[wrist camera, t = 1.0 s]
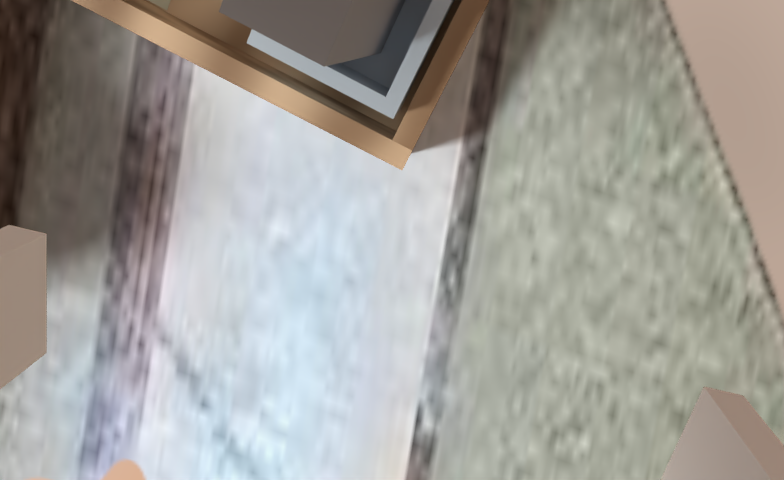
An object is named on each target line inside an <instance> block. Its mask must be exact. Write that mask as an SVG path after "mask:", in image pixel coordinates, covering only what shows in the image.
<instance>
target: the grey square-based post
mask: <svg viewBox="0 0 784 480" xmlns="http://www.w3.org/2000/svg"><path fill="white" fill-rule="evenodd" d="M453 2H454V0H223V1H222V4H221V7H220V10H219V12H220V13H222V14H224V15H226V16H228V17H230V18H232V19H234V20H235V21H237V22H239V23H241V24H243V25H245V26H247V27H249V28H251V29H252V30H251V33H250V35H249V38H248V41H247V44H249V45H251V46H253V47H255V48H257V49H259V50H261V51H263V52H265V53H266V54H268V55H270V56H272V57H274V58H276V59H278V60H280V61H282V62H284V63H286V64H288V65H290V66H292V67H293V68H295V69H297V70H299V71H301V72H303V73H305V74H307V75H309V76H311V77H313V78H315V79H317V80H318V81H320V82H322V83H324V84H326V85H328V86H330V87H332V88H334V89H336V90H338V91H340V92H342V93H344V94H345V95H347V96H349V97H351V98H353V99H355V100H357V101H359V102H361V103H363V104H365V105H367V106H369V107H370V108H372V109H374V110H376V111H378V112H380V113H382V114H384V115H386V116H388V117H390V118H392V119H394V117H395V116H396V115H397V113H398V112H399V110H400V109H401V107H402V105H403V103H404V101H405V99H406V97H407V95H408V93H409V91H410V89H411V87H412V85H413V83H414V81H415V79H416V77H417V75H418V73H419V71H420V69H421V67H422V65H423V63H424V61H425V59H426V57H427V55H428V52H429V50H430V48H431V46H432V44H433V42H434V40H435V38H436V36H437V34H438V32H439V30H440V28H441V26H442V24H443V22H444V20H445V18H446V16H447V14H448V12H449V10H450V8H451V6H452V4H453Z"/></svg>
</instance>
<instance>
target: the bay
mask: <svg viewBox="0 0 784 480" xmlns="http://www.w3.org/2000/svg"><path fill="white" fill-rule="evenodd" d="M71 1H73V2H75V3H77V4H79V5H81V6H83V7H85V8H87V9H89V10H91V11H93V12H95V13H97V14H99V15H101V16H103V17H105V18H107V19H108V20H110V21H112V22H114V23H116V24H118V25H120V26H122V27H124V28H126V29H128V30H130V31H132V32H134V33H136V34H138V35H140V36H142V37H144V38H145V39H147V40H149V41H151V42H153V43H155V44H157V45H159V46H161V47H163V48H165V49H167V50H169V51H171V52H173V53H175V54H177V55H179V56H181V57H182V58H184V59H186V60H188V61H190V62H192V63H194V64H196V65H198V66H200V67H202V68H204V69H206V70H208V71H210V72H212V73H214V74H216V75H218V76H219V77H221V78H223V79H225V80H227V81H229V82H231V83H233V84H235V85H237V86H239V87H241V88H243V89H245V90H247V91H249V92H251V93H253V94H255V95H256V96H258V97H260V98H262V99H264V100H266V101H268V102H270V103H272V104H274V105H276V106H278V107H280V108H282V109H284V110H286V111H288V112H290V113H292V114H293V115H295V116H297V117H299V118H301V119H303V120H305V121H307V122H309V123H311V124H313V125H315V126H317V127H319V128H321V129H323V130H325V131H327V132H328V133H330V134H332V135H334V136H336V137H338V138H340V139H342V140H344V141H346V142H348V143H350V144H352V145H354V146H356V147H358V148H360V149H362V150H364V151H365V152H367V153H369V154H371V155H373V156H375V157H377V158H379V159H381V160H383V161H385V162H387V163H389V164H391V165H393V166H395V167H397V168H399V169H401V170H403V168H404V166H405V164H406V162H407V160H408V158H409V156H410V154H411V152H412V150H413V148H414V146H415V144H416V142H417V140H418V139H419V137H420V135H421V133H422V131H423V129H424V127H425V125H426V123H427V121H428V119H429V117H430V115H431V113H432V111H433V109H434V107H435V106H436V104H437V102H438V100H439V98H440V96H441V94H442V92H443V90H444V88H445V86H446V84H447V82H448V80H449V78H450V76H451V74H452V73H453V71H454V69H455V67H456V65H457V63H458V61H459V59H460V57H461V55H462V53H463V51H464V49H465V47H466V45H467V43H468V41H469V40H470V38H471V36H472V34H473V32H474V30H475V28H476V26H477V24H478V22H479V20H480V18H481V16H482V14H483V12H484V10H485V8H486V7H487V5H488V3H489V1H490V0H454V2H453V4H452V6H451V8H450V10H449V12H448V14H447V16H446V18H445V20H444V22H443V24H442V26H441V28H440V30H439V32H438V34H437V36H436V38H435V40H434V42H433V44H432V46H431V48H430V50H429V52H428V55H427V57H426V59H425V61H424V63H423V65H422V67H421V69H420V71H419V73H418V75H417V77H416V79H415V81H414V83H413V85H412V87H411V89H410V91H409V93H408V95H407V97H406V99H405V101H404V103H403V105H402V107H401V109H400V110H399V112H398V113H397V115H396V116H395V117H394V119H392V118H390V117H388V116H386V115H384V114H382V113H380V112H378V111H376V110H374V109H372V108H370V107H369V106H367V105H365V104H363V103H361V102H359V101H357V100H355V99H353V98H351V97H349V96H347V95H345V94H344V93H342V92H340V91H338V90H336V89H334V88H332V87H330V86H328V85H326V84H324V83H322V82H320V81H318V80H317V79H315V78H313V77H311V76H309V75H307V74H305V73H303V72H301V71H299V70H297V69H295V68H293V67H292V66H290V65H288V64H286V63H284V62H282V61H280V60H278V59H276V58H274V57H272V56H270V55H268V54H266V53H265V52H263V51H261V50H259V49H257V48H255V47H253V46H251V45H249V44H247V41H248V38H249V35H250V33H251V30H252V29H251V28H249V27H247V26H245V25H243V24H241V23H239V22H237V21H235V20H234V19H232V18H230V17H228V16H226V15H224V14H222V13H220V12H219V10H220V7H221V4H222V1H223V0H71Z"/></svg>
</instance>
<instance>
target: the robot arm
mask: <svg viewBox="0 0 784 480" xmlns="http://www.w3.org/2000/svg"><path fill="white" fill-rule="evenodd" d="M46 353H47V234H46V233H42V232H38V231H33V230H29V229H25V228H20V227H16V226H12V225H8V226H5V227H3V228H1V229H0V389H1V388H2V387H4V386H5V385H6V384H7V383H9V382H10V381H11V380H13V379H14V378H15V377H16V376H18V375H19V374H20V373H21V372H23V371H24V370H25V369H27V368H28V367H29V366H30V365H32V364H33V363H34V362H36V361H37V360H38V359H39V358H41V357H42V356H43V355H44V354H46ZM661 480H784V445H783V444H782V443H781V442H780V440H779V439H778V438H777V437H776V435H775V434H774V433H773V432H772V430H771V429H770V428H769V427H768V425H767V424H766V423H765V422H764V421H763V419H762V418H761V417H760V416H759V414H758V413H757V412H756V411H755V409H754V408H753V407H752V406H751V405H750V403H749V402H748V401H747V400H746V398H745V397H744V396H743V395H738V394H734V393H730V392H725V391H721V390H717V389H713V388H708V387H704V388H703V390H702V392H701V394H700V396H699V398H698V400H697V403H696V405H695V407H694V409H693V411H692V413H691V415H690V418H689V420H688V422H687V424H686V426H685V428H684V431H683V433H682V435H681V437H680V439H679V441H678V443H677V446H676V448H675V450H674V452H673V454H672V456H671V458H670V461H669V463H668V465H667V467H666V469H665V471H664V473H663V476H662V478H661Z"/></svg>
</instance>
